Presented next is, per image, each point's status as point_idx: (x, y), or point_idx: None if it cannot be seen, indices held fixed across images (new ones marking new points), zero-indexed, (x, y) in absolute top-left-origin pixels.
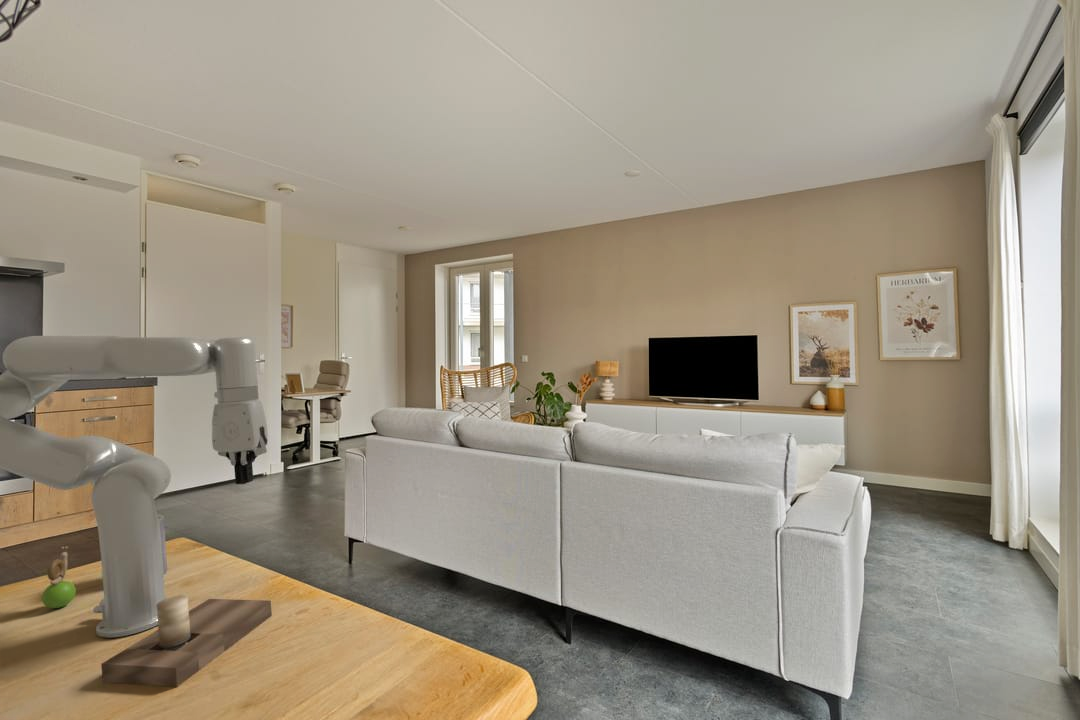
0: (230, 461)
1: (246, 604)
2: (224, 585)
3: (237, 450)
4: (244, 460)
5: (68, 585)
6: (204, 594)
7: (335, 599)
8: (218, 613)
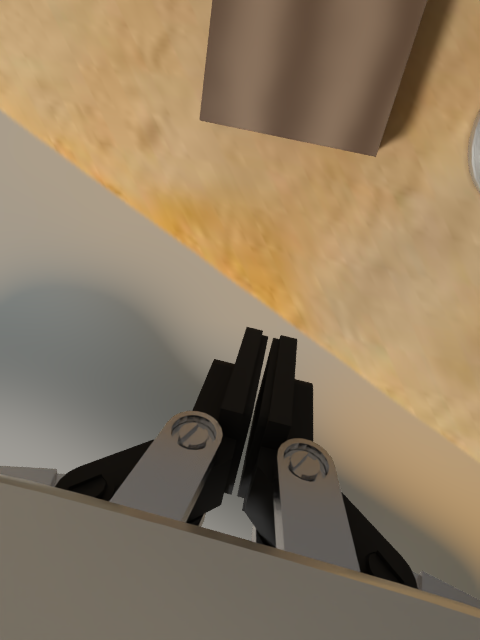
0: (337, 479)
1: (252, 104)
2: (401, 303)
3: (142, 515)
4: (171, 440)
5: None
6: (432, 264)
7: (105, 184)
8: (304, 53)
